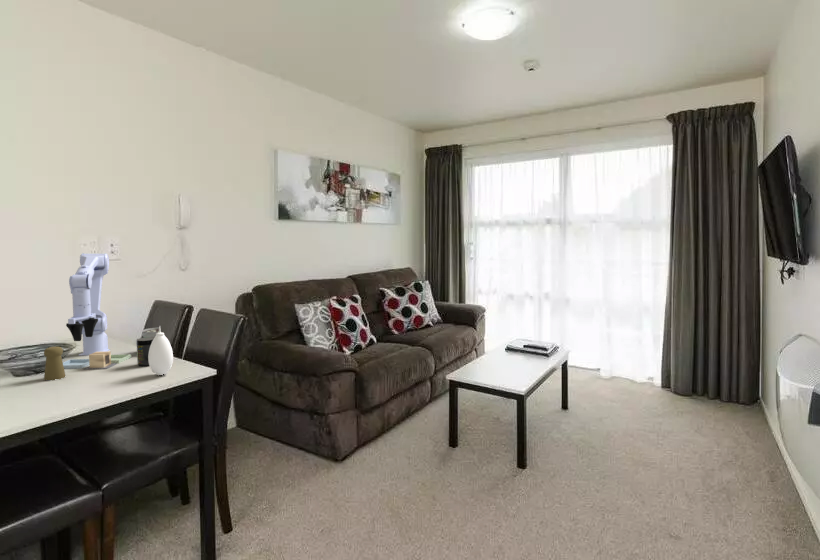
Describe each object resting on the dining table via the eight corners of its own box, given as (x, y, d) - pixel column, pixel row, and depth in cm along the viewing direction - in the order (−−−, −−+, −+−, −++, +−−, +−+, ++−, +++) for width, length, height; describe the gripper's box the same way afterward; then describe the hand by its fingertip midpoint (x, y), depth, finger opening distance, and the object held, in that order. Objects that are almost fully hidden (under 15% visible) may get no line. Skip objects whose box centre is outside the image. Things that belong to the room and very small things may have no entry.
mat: (94, 365, 175) (94, 363, 175) (116, 364, 176) (116, 363, 176) (83, 370, 168) (83, 368, 168) (106, 369, 169) (106, 368, 169)
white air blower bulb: (174, 376, 162) (172, 326, 160) (149, 379, 157) (147, 328, 156) (172, 370, 168) (171, 323, 167) (148, 373, 164) (146, 324, 163)
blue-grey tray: (70, 363, 178) (70, 359, 178) (96, 362, 179) (96, 358, 179) (54, 369, 168) (53, 365, 168) (81, 369, 169) (81, 365, 169)
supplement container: (150, 367, 172) (150, 340, 171) (133, 367, 172) (132, 340, 171) (160, 363, 179) (160, 337, 178) (144, 363, 179) (143, 337, 178)
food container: (144, 350, 200) (143, 328, 199) (159, 349, 202) (159, 327, 202) (140, 356, 189) (139, 333, 188) (157, 355, 191) (156, 332, 190)
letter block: (97, 364, 174) (96, 351, 173) (111, 364, 174) (110, 351, 174) (89, 367, 169) (89, 354, 169) (104, 367, 169) (103, 354, 169)
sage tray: (106, 358, 185) (106, 354, 185) (131, 357, 186) (131, 354, 186) (93, 364, 176) (92, 360, 176) (119, 364, 177) (118, 360, 177)
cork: (53, 381, 154) (51, 349, 154) (39, 379, 156) (37, 348, 155) (70, 376, 160) (68, 345, 160) (56, 375, 162) (54, 344, 161)
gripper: (81, 307, 171) (83, 342, 172) (103, 302, 185) (104, 335, 186) (61, 307, 170) (63, 343, 171) (84, 302, 184) (86, 335, 185)
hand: (83, 338), depth 179 cm, fingers open, 7 cm apart
